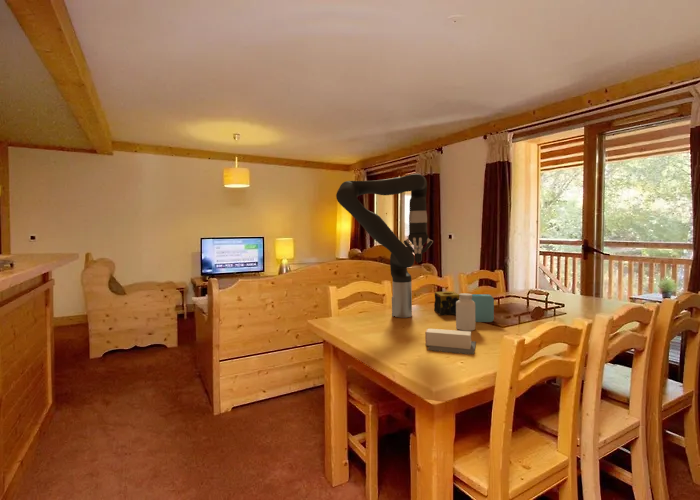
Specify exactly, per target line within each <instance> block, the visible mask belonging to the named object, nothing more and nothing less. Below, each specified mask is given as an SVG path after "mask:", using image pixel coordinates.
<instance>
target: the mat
mask: <svg viewBox="0 0 700 500" xmlns="http://www.w3.org/2000/svg"><path fill="white" fill-rule="evenodd" d="M476 344H477V341H476V340H471V348H470V349H463V348H452V347H441V346H430V345H428V348H427V351H428V350H433V351H432V352H439V351H442V353H449V352H452V354H460V353H462V355H470V354H474V355H475V352H474V351H476Z"/></svg>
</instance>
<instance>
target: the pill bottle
mask: <svg viewBox="0 0 700 500" xmlns="http://www.w3.org/2000/svg"><path fill="white" fill-rule="evenodd" d="M458 294H459V299H460V300H458V301H457V302H456V315H455V328H456V330H458V331H469V332H473V331H474V330H475V329H476V322H475V302H474V301H472V300H471V299H472V293H467V292H466V293H465V292H464V293H461V292H460V293H458Z"/></svg>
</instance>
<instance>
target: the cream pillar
mask: <svg viewBox="0 0 700 500" xmlns="http://www.w3.org/2000/svg"><path fill="white" fill-rule="evenodd" d="M424 335H425V337H424V338H425V339H424V341H425V346H441V347H452V348H463V349H470V348H471V341H472V331H462V330H457V329H456V330H455V329H441V328H426V330H425V334H424Z"/></svg>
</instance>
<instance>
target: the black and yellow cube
mask: <svg viewBox="0 0 700 500" xmlns="http://www.w3.org/2000/svg"><path fill="white" fill-rule="evenodd" d="M459 294H460V293H456V292H455V291H453V290H452V291H434V305H433V306H434V312H435V313H437V314H438V315H439V316H456V302H457V301H458V300H460V299H459Z"/></svg>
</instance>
